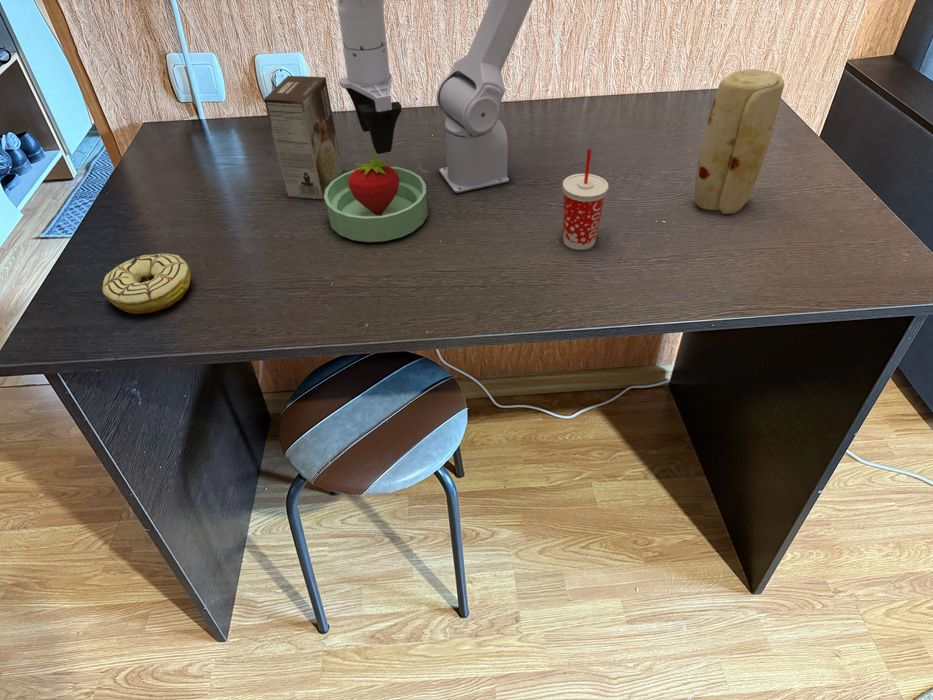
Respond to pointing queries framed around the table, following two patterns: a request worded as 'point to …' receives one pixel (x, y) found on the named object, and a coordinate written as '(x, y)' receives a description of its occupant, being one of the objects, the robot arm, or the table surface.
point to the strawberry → (374, 185)
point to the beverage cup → (582, 207)
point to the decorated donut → (147, 283)
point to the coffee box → (304, 135)
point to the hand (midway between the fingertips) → (376, 140)
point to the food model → (737, 139)
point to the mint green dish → (365, 225)
